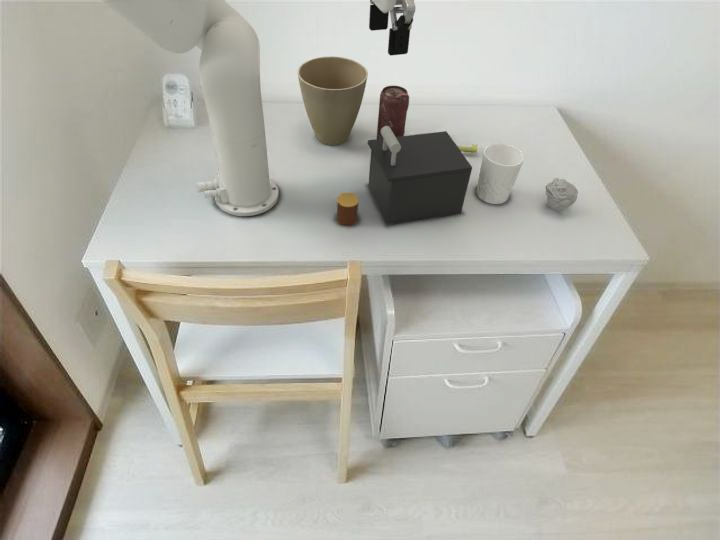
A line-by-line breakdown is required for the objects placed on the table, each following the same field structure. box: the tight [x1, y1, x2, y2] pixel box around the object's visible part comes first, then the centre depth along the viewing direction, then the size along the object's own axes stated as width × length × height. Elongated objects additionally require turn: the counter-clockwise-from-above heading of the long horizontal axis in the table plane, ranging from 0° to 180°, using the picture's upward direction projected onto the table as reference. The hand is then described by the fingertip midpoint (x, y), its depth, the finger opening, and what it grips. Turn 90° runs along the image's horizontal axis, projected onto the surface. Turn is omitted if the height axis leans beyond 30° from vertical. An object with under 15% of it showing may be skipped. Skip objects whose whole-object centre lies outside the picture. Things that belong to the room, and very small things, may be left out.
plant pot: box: [297, 55, 369, 146], centre depth 116 cm, size 15×15×16 cm
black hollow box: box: [367, 150, 472, 226], centre depth 103 cm, size 16×13×10 cm
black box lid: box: [367, 126, 473, 182], centre depth 98 cm, size 17×13×6 cm
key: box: [457, 143, 478, 154], centre depth 120 cm, size 7×12×2 cm, turn 97°
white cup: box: [476, 142, 525, 205], centre depth 106 cm, size 8×8×10 cm
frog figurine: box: [545, 177, 579, 212], centre depth 105 cm, size 6×7×7 cm
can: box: [376, 85, 410, 139], centre depth 115 cm, size 6×6×14 cm
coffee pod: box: [336, 191, 360, 227], centre depth 100 cm, size 4×4×5 cm
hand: (387, 41), depth 85 cm, fingers open, 9 cm apart
